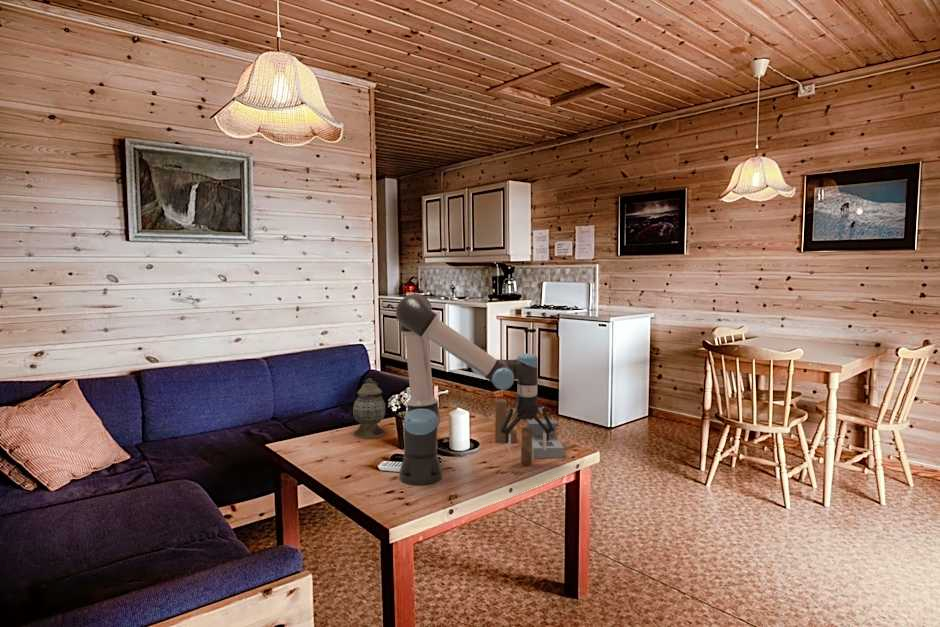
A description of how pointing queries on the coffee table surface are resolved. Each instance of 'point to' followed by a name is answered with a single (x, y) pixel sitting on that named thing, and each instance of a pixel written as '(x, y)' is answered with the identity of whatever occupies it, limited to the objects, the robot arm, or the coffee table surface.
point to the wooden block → (499, 419)
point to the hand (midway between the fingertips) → (526, 449)
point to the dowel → (526, 446)
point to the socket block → (552, 446)
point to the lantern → (369, 410)
